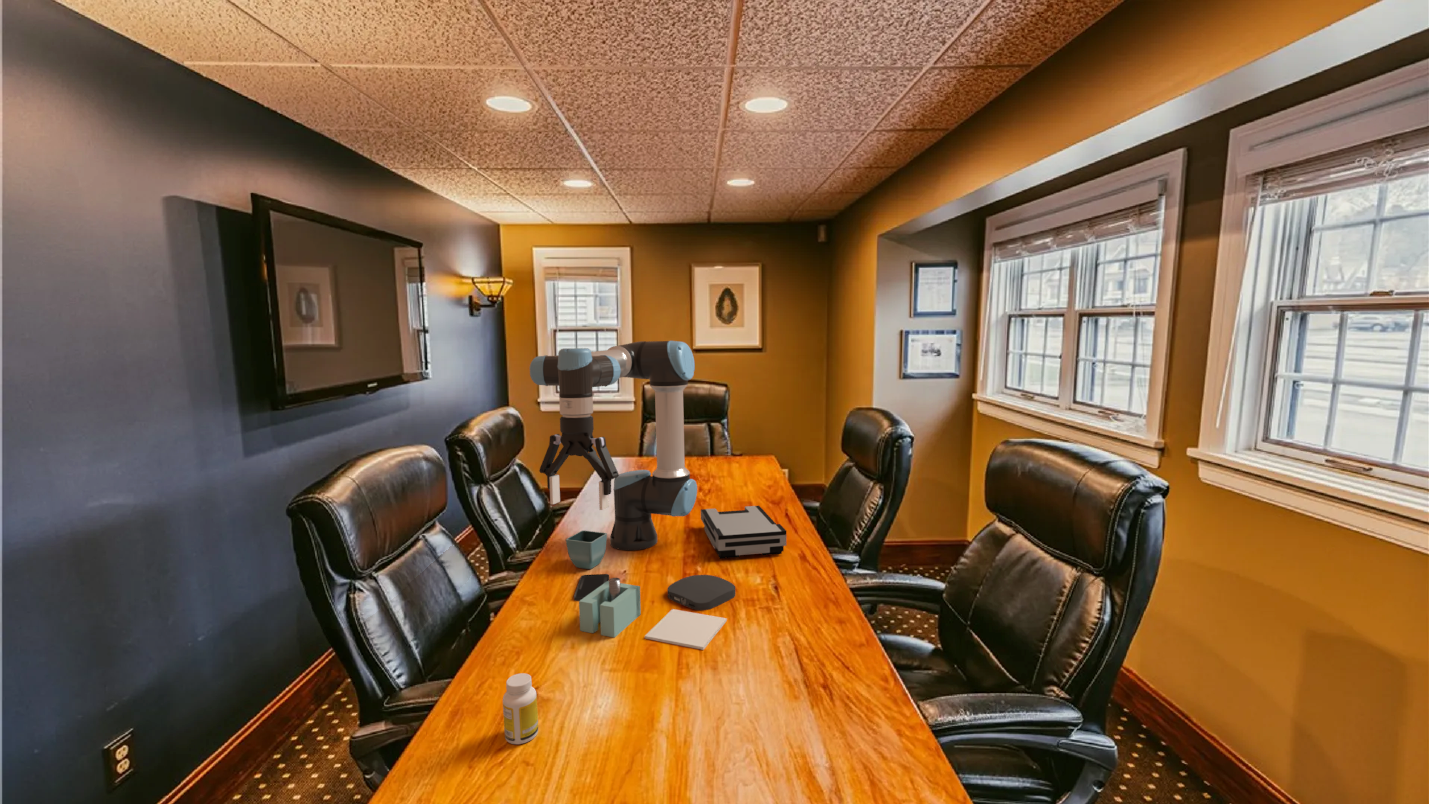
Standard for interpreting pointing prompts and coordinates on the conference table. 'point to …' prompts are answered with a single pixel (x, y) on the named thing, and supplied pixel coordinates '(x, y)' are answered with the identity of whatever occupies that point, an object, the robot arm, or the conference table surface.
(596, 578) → the phone
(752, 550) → the game console
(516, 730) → the supplement bottle
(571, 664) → the conference table surface
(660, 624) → the mat
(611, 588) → the grey cylinder
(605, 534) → the flower pot
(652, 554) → the conference table surface
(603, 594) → the green u-shaped block
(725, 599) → the media streaming box
